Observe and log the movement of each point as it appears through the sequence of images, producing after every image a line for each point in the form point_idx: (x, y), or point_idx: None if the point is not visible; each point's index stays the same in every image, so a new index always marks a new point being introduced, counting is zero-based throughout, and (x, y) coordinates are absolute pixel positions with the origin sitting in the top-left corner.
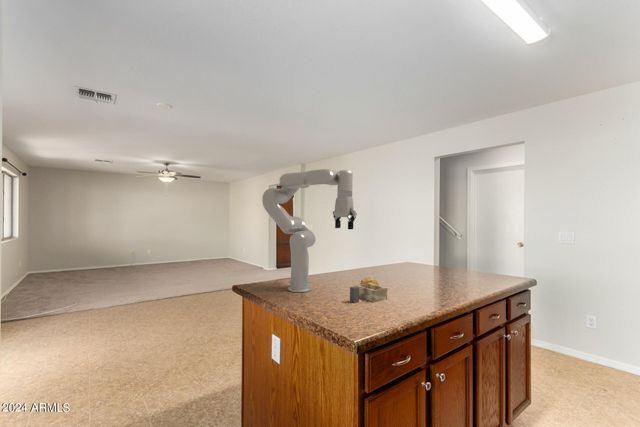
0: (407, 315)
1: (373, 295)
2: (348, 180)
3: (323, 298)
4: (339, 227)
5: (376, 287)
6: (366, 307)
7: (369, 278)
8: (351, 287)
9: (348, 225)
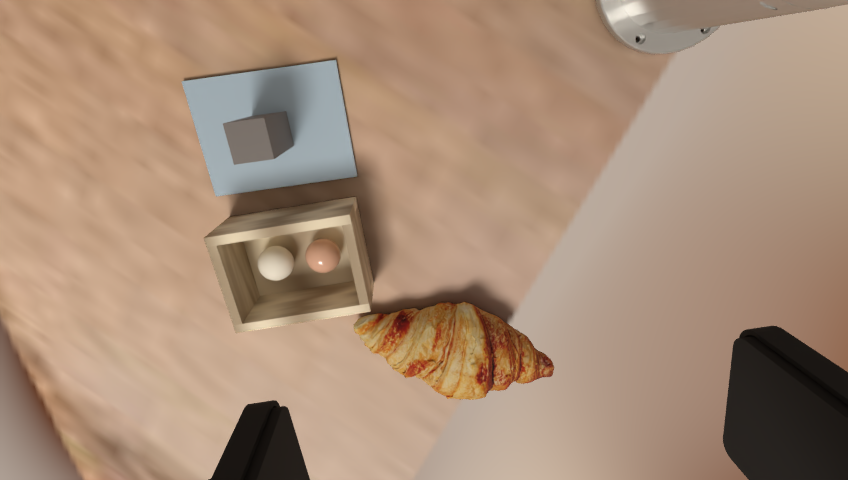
0: (18, 238)
1: (221, 227)
2: None
3: (422, 16)
4: (729, 429)
5: (305, 309)
6: (183, 142)
7: (463, 374)
8: (252, 121)
9: (217, 475)
